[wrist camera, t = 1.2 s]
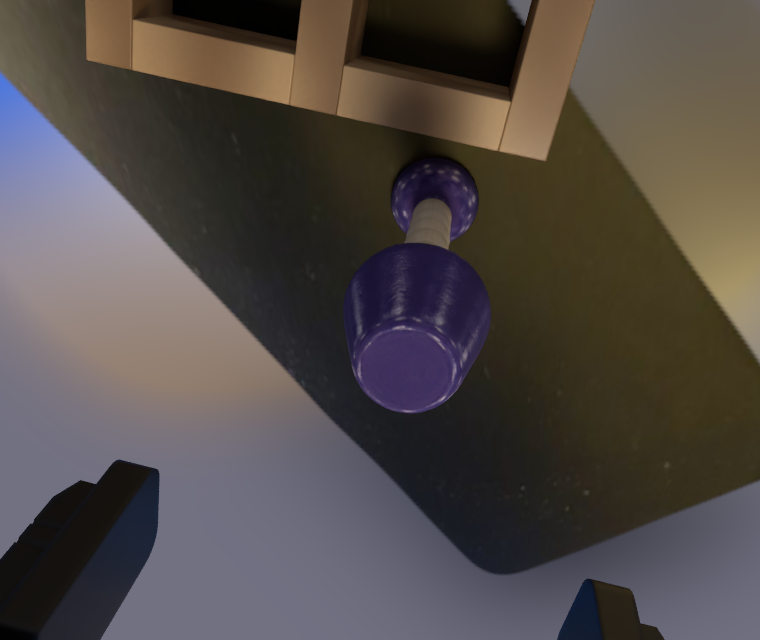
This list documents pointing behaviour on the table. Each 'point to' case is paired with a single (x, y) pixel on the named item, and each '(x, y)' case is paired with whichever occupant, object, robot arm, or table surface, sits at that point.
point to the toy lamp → (419, 295)
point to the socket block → (354, 69)
